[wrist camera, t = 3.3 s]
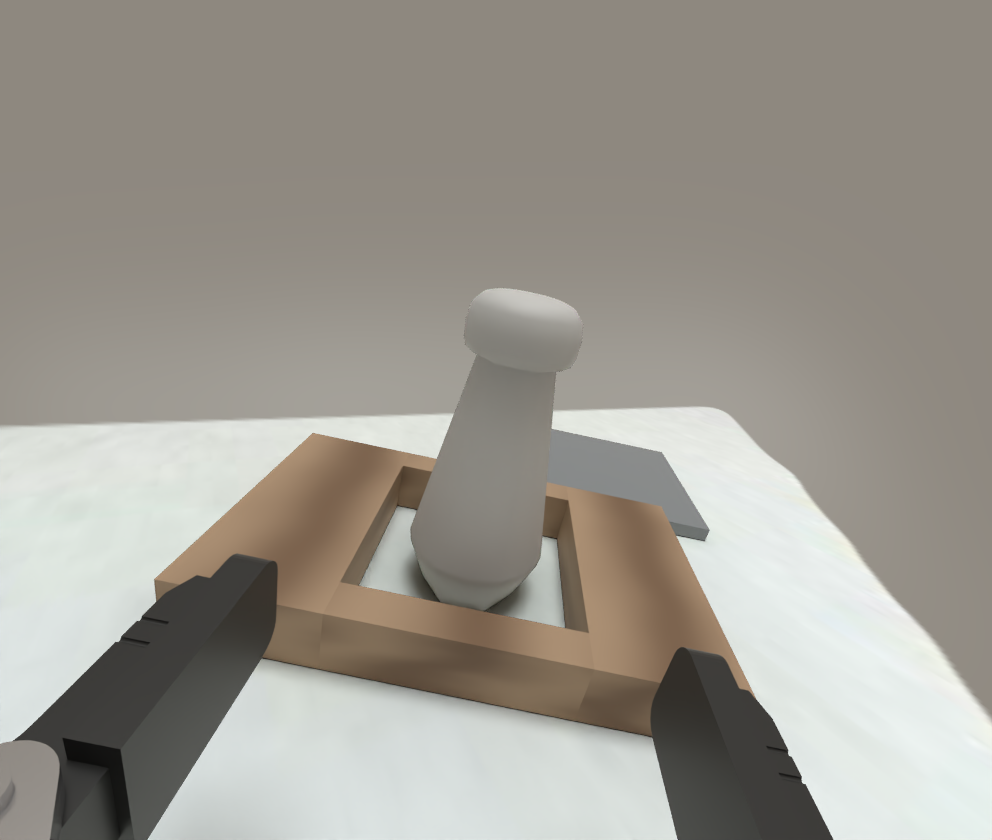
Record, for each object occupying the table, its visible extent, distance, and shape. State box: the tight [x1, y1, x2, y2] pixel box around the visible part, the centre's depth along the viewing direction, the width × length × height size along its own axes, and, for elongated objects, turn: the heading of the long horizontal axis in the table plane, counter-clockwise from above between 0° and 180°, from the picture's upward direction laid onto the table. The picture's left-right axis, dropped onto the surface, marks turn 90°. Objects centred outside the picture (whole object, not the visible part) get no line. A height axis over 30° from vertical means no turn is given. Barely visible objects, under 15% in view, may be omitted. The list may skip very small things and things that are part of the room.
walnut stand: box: [154, 433, 756, 736], centre depth 21 cm, size 20×12×2 cm, turn 86°
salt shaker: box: [411, 288, 583, 611], centre depth 19 cm, size 6×6×13 cm
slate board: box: [547, 429, 709, 541], centre depth 34 cm, size 12×11×1 cm
